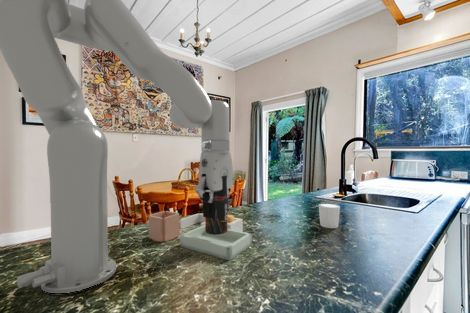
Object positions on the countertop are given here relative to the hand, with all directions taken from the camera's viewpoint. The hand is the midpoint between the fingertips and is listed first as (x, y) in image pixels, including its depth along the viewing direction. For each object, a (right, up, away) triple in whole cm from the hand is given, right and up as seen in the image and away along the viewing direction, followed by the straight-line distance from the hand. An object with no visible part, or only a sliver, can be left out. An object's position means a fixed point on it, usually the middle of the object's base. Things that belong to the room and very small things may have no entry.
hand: (216, 213), depth 62 cm
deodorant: (0, -5, 0) cm, 5 cm away
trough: (0, -9, 0) cm, 9 cm away
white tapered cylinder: (+37, -8, +17) cm, 42 cm away
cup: (-16, -9, +6) cm, 19 cm away
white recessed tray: (-2, -8, +13) cm, 16 cm away
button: (+3, -8, +10) cm, 13 cm away
